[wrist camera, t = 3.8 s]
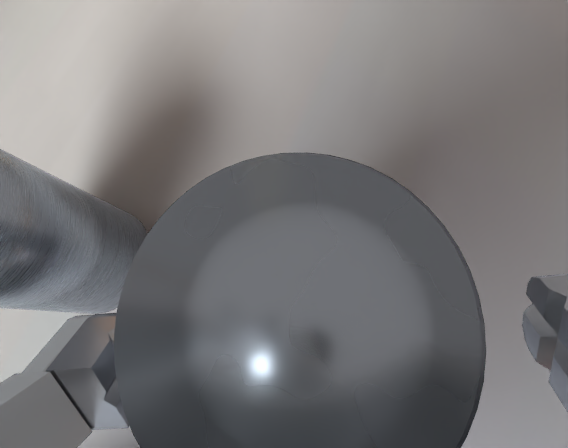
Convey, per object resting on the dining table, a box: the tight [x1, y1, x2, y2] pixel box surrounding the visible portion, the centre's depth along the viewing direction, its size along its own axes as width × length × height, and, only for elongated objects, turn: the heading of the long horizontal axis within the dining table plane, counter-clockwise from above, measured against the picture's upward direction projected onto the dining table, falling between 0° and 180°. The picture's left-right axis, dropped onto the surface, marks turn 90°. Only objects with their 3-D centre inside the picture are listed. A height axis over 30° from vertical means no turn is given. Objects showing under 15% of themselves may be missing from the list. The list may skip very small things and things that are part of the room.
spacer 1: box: [0, 149, 147, 314], centre depth 11 cm, size 5×5×9 cm
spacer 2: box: [114, 153, 486, 448], centre depth 9 cm, size 5×5×9 cm
